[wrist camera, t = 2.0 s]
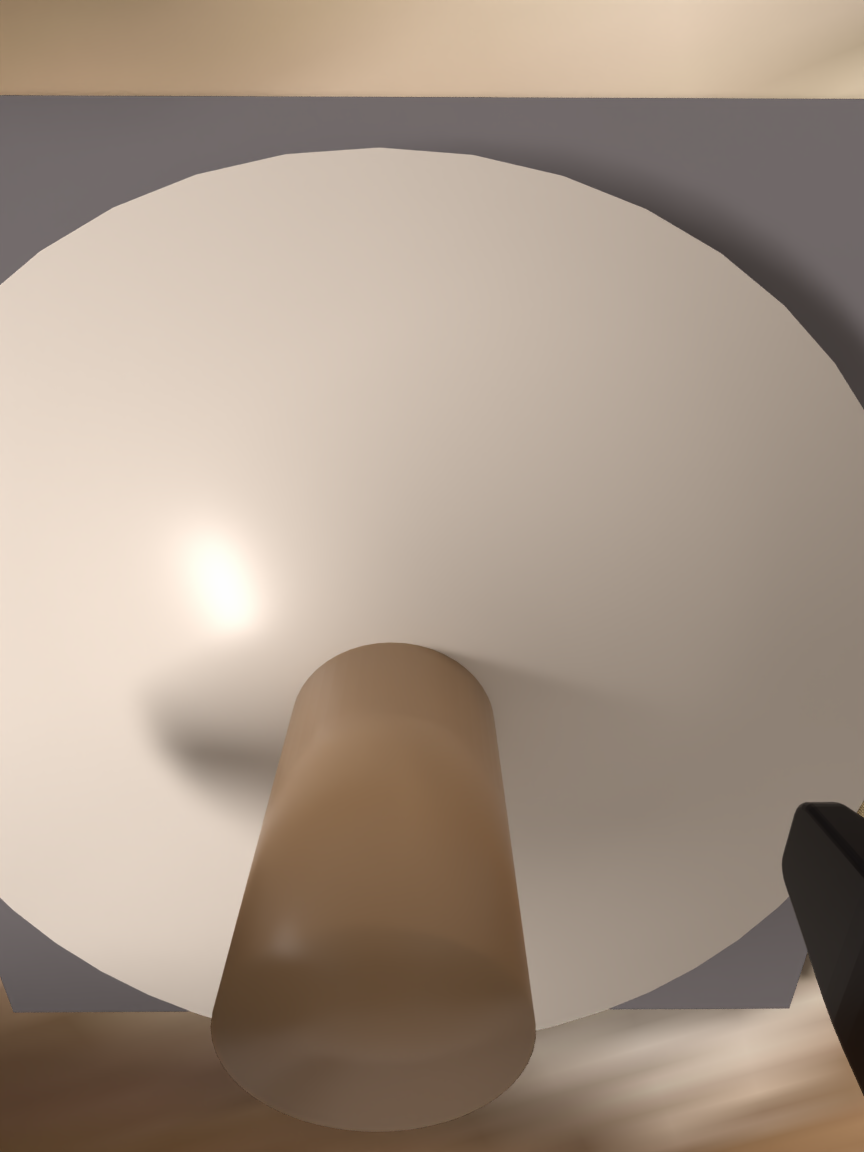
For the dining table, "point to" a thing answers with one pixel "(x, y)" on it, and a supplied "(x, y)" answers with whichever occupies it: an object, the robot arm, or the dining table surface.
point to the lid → (412, 612)
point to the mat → (521, 137)
